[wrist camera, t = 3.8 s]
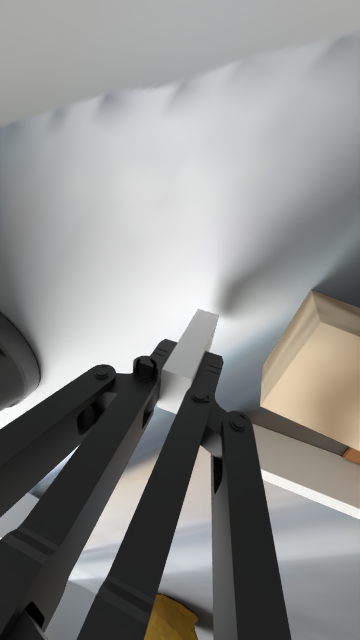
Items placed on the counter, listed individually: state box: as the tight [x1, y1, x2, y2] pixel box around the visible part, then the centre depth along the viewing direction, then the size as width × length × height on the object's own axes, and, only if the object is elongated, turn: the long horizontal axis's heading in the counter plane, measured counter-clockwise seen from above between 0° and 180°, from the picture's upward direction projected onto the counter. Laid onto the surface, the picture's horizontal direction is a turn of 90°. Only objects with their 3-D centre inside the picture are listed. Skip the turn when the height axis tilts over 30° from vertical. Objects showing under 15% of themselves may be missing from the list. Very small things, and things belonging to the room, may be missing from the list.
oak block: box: [260, 290, 360, 451], centre depth 16 cm, size 7×7×4 cm
